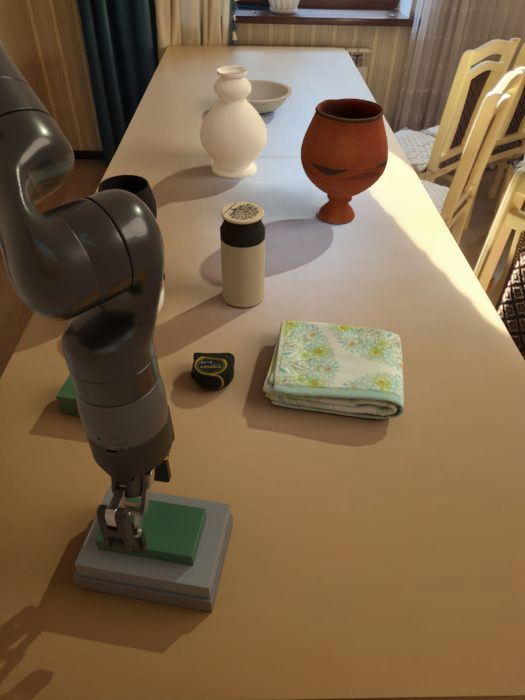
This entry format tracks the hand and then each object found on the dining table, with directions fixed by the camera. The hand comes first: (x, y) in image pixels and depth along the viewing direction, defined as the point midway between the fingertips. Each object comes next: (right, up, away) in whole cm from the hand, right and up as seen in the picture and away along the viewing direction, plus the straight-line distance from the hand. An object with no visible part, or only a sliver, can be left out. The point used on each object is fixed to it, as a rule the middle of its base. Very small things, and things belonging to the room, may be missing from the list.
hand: (149, 511), depth 59 cm
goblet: (+30, +50, +71) cm, 92 cm away
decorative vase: (+5, +68, +90) cm, 113 cm away
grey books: (0, -7, +6) cm, 9 cm away
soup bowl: (+10, +100, +126) cm, 161 cm away
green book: (0, -3, +3) cm, 4 cm away
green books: (-12, +9, +24) cm, 29 cm away
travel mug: (+9, +28, +46) cm, 54 cm away
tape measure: (+4, +13, +29) cm, 32 cm away
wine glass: (-12, +32, +50) cm, 60 cm away
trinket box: (-10, +24, +41) cm, 49 cm away
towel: (+24, +13, +30) cm, 41 cm away
